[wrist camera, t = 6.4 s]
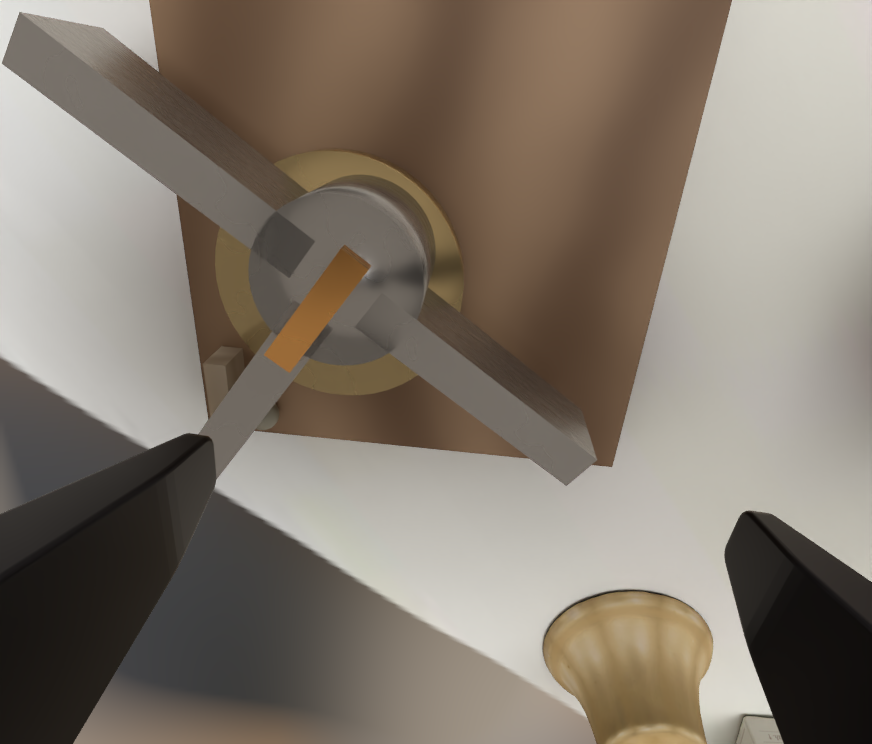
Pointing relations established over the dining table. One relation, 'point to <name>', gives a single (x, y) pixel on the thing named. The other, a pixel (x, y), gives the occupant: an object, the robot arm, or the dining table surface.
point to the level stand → (469, 173)
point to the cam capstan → (307, 255)
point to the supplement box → (758, 731)
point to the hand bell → (633, 666)
